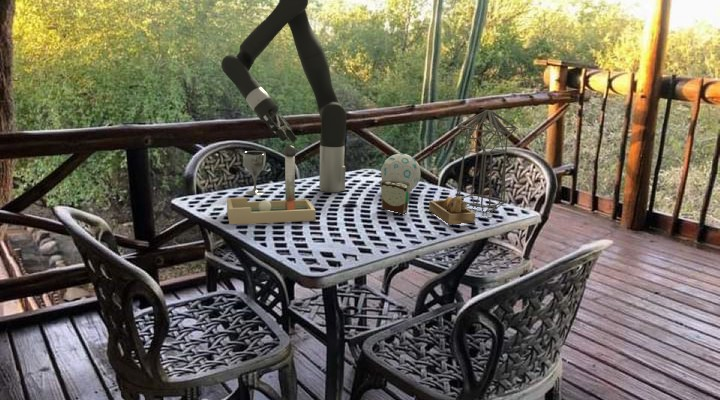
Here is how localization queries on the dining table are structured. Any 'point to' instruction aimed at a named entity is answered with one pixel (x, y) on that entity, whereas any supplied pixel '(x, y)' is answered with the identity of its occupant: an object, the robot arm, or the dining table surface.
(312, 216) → the tray
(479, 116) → the geometric lantern
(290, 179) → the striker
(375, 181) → the dining table surface
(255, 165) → the wine glass
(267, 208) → the ball
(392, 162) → the puzzle ball
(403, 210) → the food container
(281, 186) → the dining table surface
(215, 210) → the dining table surface
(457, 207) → the lion figurine
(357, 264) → the dining table surface
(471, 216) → the figurine crate
